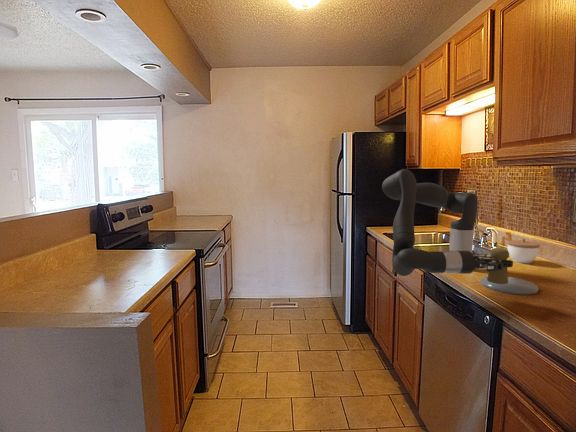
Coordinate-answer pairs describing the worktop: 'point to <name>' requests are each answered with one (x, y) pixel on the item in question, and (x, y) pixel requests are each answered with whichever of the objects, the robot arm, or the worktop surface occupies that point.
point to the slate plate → (512, 286)
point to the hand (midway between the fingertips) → (507, 261)
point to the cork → (499, 275)
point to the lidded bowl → (523, 250)
